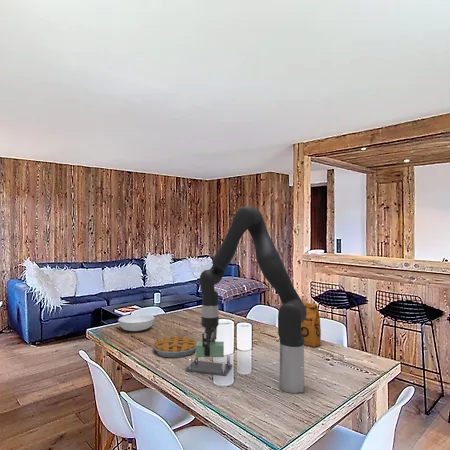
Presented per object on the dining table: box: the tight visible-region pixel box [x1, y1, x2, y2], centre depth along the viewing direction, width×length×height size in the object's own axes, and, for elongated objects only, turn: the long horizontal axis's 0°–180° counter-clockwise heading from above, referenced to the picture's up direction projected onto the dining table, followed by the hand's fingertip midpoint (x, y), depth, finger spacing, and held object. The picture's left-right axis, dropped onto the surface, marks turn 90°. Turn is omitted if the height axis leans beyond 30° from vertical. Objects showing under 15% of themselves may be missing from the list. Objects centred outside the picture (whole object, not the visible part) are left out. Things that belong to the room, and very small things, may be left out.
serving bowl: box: [118, 313, 155, 332], centre depth 214 cm, size 21×21×7 cm
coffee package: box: [301, 301, 322, 348], centre depth 190 cm, size 10×12×22 cm
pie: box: [153, 336, 197, 358], centre depth 177 cm, size 22×22×5 cm
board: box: [195, 340, 225, 358], centre depth 155 cm, size 12×6×5 cm, turn 91°
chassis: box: [185, 351, 233, 377], centre depth 155 cm, size 18×11×5 cm, turn 75°
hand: (209, 353), depth 155 cm, fingers closed on board, 6 cm apart
